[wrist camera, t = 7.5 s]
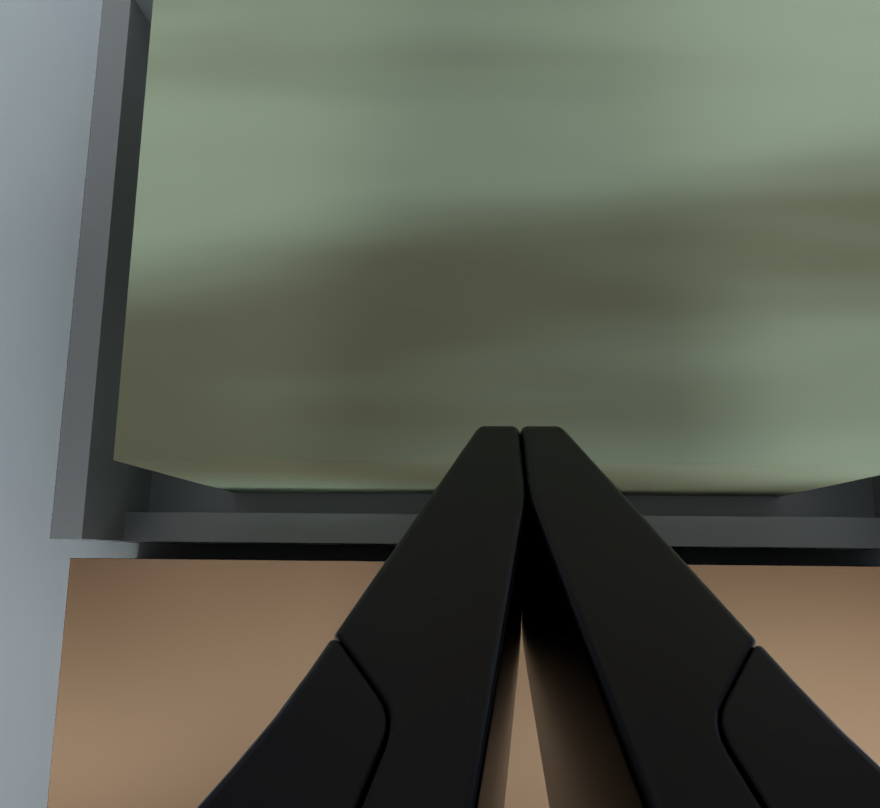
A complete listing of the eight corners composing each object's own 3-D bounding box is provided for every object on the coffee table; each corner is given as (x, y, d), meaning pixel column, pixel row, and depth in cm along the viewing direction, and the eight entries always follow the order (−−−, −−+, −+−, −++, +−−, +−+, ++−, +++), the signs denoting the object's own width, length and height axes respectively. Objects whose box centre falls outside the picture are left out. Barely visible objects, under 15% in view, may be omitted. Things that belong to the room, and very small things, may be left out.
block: (929, 464, 10) (877, -49, 11) (112, 460, 10) (155, -31, 12) (780, 496, 15) (755, 138, 16) (232, 492, 15) (252, 145, 16)
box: (893, 550, 15) (994, 547, 12) (131, 542, 16) (50, 538, 13) (847, 55, 17) (926, -52, 14) (168, 69, 17) (105, -30, 15)
